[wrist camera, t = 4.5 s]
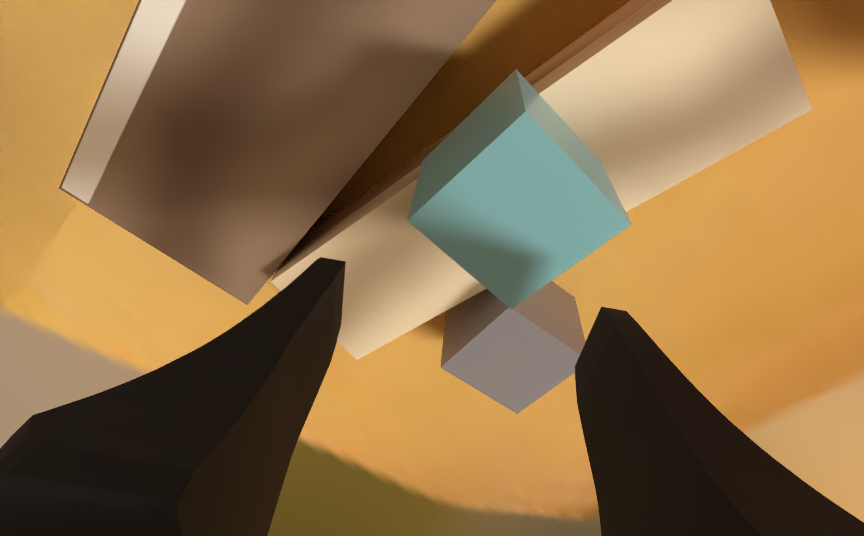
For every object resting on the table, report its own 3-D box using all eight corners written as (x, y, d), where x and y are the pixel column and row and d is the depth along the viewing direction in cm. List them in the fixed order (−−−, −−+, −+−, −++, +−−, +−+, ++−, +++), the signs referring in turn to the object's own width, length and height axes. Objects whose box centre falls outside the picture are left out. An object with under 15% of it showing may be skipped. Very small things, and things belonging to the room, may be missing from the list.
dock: (626, -171, 14) (647, -184, 12) (264, 277, 23) (246, 306, 21) (387, -476, 11) (369, -549, 9) (92, 166, 21) (57, 189, 19)
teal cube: (601, 162, 16) (631, 224, 13) (505, 238, 18) (510, 309, 15) (516, 68, 15) (525, 111, 11) (422, 161, 17) (407, 220, 13)
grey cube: (505, 246, 21) (574, 296, 22) (446, 303, 23) (512, 346, 24) (509, 306, 18) (589, 361, 19) (440, 367, 20) (517, 413, 21)
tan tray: (765, 81, 17) (812, 109, 15) (369, 315, 24) (356, 359, 22) (705, -58, 15) (749, -54, 13) (294, 241, 22) (270, 281, 20)
